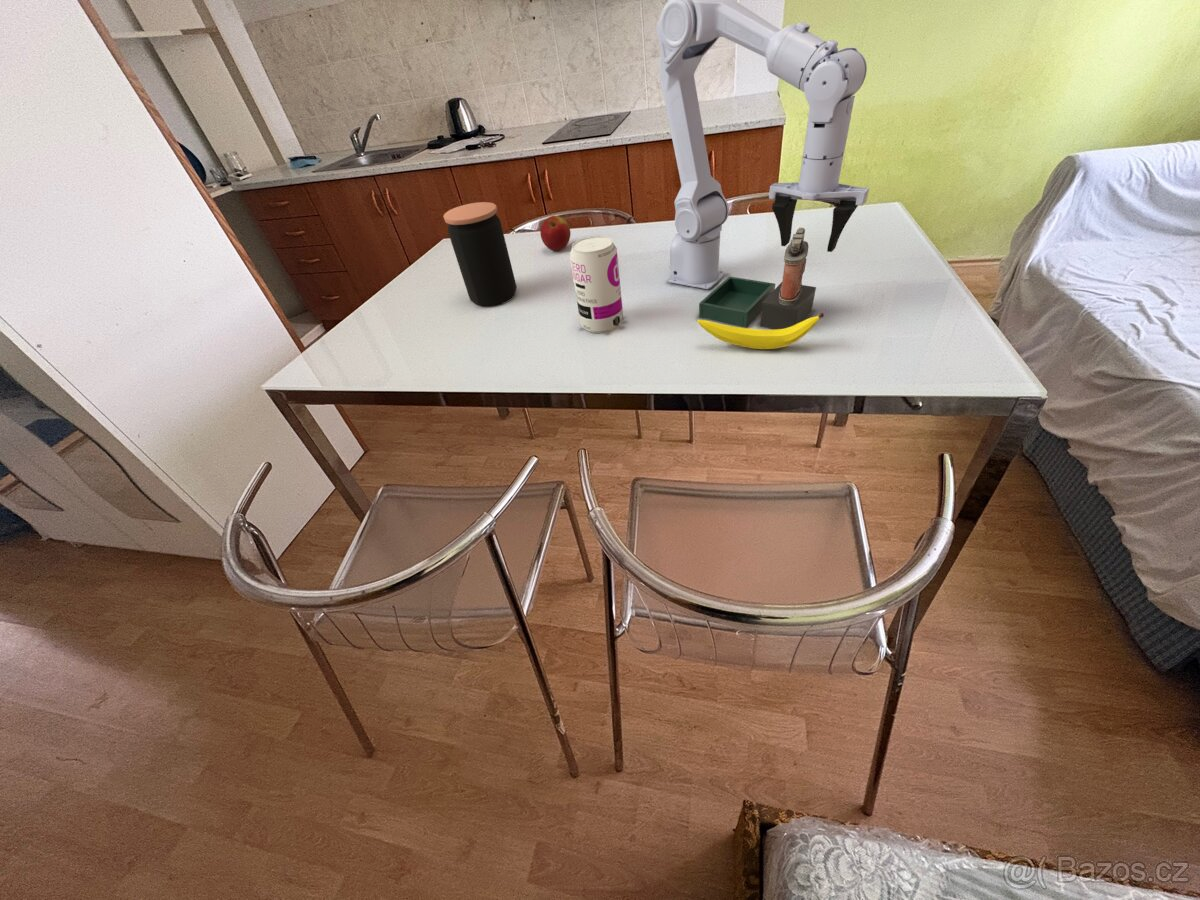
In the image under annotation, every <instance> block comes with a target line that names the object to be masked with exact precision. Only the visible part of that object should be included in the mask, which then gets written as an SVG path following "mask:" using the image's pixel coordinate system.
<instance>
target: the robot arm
mask: <svg viewBox="0 0 1200 900" xmlns="http://www.w3.org/2000/svg"><path fill="white" fill-rule="evenodd" d="M810 28H811V25H810V24H808V23H807V22H805V21H802V22H798V23H797V24H795V23H791V24H788V25H786V26H785V27H783V28H782V29H780V28H778V27H777V26H775V25H773V24H772V23H770V22H769V21H768V20H766V19H764V18H763V17H761V16H759V15H758V14H757V13H755V12H754V11H752V10H750V9H749V8H747V7H746V6H744V5H742V4H741V3H740V2H738V1H736V0H667V2H666V3H665V4H664V5H663V9H662V10H661V13H660V16H659V19H658V21H657V24H656V26H655V31H656V35H657V40H658V45H659V50H660V51H659V62H658V64H659V65H658V74H659V75H658V76H659V80H660V85H661V91H662V96H663V101H664V105H665V110H666V111H665V112H666V115H667V120H668V126H669V131H670V136H671V140H672V145H673V150H674V155H675V160H676V166H677V170H678V171H677V172H678V175H679V180H680V188H679V191H678V193H677V195H676V197H675V199H674V202H673V203H674V209H675V216H674V227H675V230H676V234H675V235H674V236H673V238H672V240H671V242H670V247H669V273H670V274H669V276H670V278H669V279H668V283H670V284H676V285H681V286H687V287H693V288H698V289H703V290H710V289H712V287H713V286H715V285H716V284H717V283H718V282H719V281H720V280H721V279H723V278H724V277H725V276H726V275H727V272H726V271H724V270H720V269H719V268H720V246H721V232H722V231H723V224H724V223H725V222H726V221H727V220H728V218H729V213H730V212H729V211H730V208H729V203H728V200H727V199H726V197H725V195H724V193H723V191H722V190H723V189H722V184H721V183H720V182H719V181H718V180H717V179H715V178H714V177H713V176H712V174H711V168H710V162H709V155H708V151H707V144H706V137H705V133H704V126H703V122H702V121H703V120H702V115H701V109H700V103H699V97H698V92H697V85H696V80H695V73H696V71H697V69H698V67H699V65H700V63H701V61H702V59H703V57H704V56H705V55H706V54H707V53H708V52H709V50H710V49H712V47H713V46H714V45H715V44H716V43H717V41H718V40H719V39H720V38H724V39H726V40H728V41H731V42H733V43H735V44H736V45H739V46H741V47H742V48H745V49H747V50H750V52H753V53H755V54H757V55H759V56H761V57H764V58H765V59H766V60H765V61H766V66H767V67H766V68H767V71H768V72H769V74H772V75H773V76H775V77H777V78H778V79H781V80H782V81H783V82H786V83H787V84H789V85H791V86H792V87H794V88H795V89H798V90H799V91H801V92H803V93H804V97H805V99H806V102H807V104H808V108H809V109H808V117H807V124H806V129H805V130H806V131H805V138H804V145H803V150H802V151H803V152H802V157H801V164H800V165H801V166H800V173H799V178H798V181H797V182H796V181H795V182H774V183H773V184H771V185H770V186H769V192H768V199H769V200H774V202H773V203H772V205H771V211H772V212H773V214H774V216H775V219H776V222H777V225H778V229H779V235H780V246H781V247H786V246H788V245H789V244H790V243H791V236H792V228H793V220H794V215H795V211H796V207H797V203H798V200H800V201H812V202H813V201H814V202H827V203H838V204H837V205H836V206H835V207H834V208H833V210H832V222H831V223H832V224H831V231H830V235H829V240H828V244H827V248H826V249H827V250H826V252H829V253H832V252H834V250H835V249H836V247H837V244H838V241H839V239H840V237H841V235H842V232H843V231H844V230H845V227H846V225H847V223H848V222H849V220H850V218H851V217H852V215H853V214H854V212H855V211H856V210H857V208H858V207H859V206H861V207H862V206H863V205H866V202H867V200H868V196H869V192H870V187H862V186H855V185H849V184H845V183H840V177H841V171H842V168H843V167H842V166H843V162H844V161H843V160H844V156H845V155H844V154H845V151H846V146H847V141H848V134H849V130H850V124H851V119H852V113H853V108H854V103H855V97H856V96H855V94H856V93H858V91H859V90H860V89H861V88H862V86H863V84H864V83H865V81H866V80H865V79H866V76H867V70H868V69H867V68H868V67H867V61H866V58H865V57H864V54H862V53H861V52H860V51H859V50H858V49H857V47H854V46H849V47H845V48H842V49H840V50H839V48H838V45H839V42H838V41H837V40H834V39H830V40H828V41H827V40H825V39H823V38H821V37H819V36H818V35H816V34H814V33H812V32H810V31H809V30H810Z"/></svg>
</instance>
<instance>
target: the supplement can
mask: <svg viewBox="0 0 1200 900" xmlns="http://www.w3.org/2000/svg"><path fill="white" fill-rule="evenodd" d="M569 260H570V261H569V262H570V269H571V274H572V280H573V285H574V286H573V287H574V292H575V297H576V303H577V304H576V305H577V310H578V317H579V323H580V326H581V327H582V328H583V329H585V330H586V331H587V332H589V333H594V334H605V333H609V332H612V331H614V330H616V329H617V328H619V327H620V325H621V324H623V322H624V309H623V299H622V289H621V278H620V267H619V256H618V248H617V247H616V245H615V243H614V242H613V239H612V238H611V237H608V236H603V235H597V236H596V235H595V236H588V237H584V238H580V239H578V240H577V241H575V242H574V243H572V245H571V250H570V254H569Z"/></svg>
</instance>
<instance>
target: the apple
mask: <svg viewBox="0 0 1200 900" xmlns="http://www.w3.org/2000/svg"><path fill="white" fill-rule="evenodd" d="M539 232H540V239H541V241H542V243H543V244H544V246H545V247H546V248H547V249H548V250H550V251H552V252H553V251H554V252H558V251H562V250H564V249H565V248H566V247H567V246H568V245H569V242H570V239H571V228H570V226H569V223H568V222H567V221H566V220H565V219H564V218H562V217H561V216H556V215H551V216H549V217H546V219H545V220H544V221H543V222H542V224H541V226H540V231H539Z"/></svg>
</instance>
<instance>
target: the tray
mask: <svg viewBox="0 0 1200 900" xmlns="http://www.w3.org/2000/svg"><path fill="white" fill-rule="evenodd" d="M775 289H776V283H774V282H767V281H761V280H755V279H750V278H749V279H748V278H742V277H736V276H731V275H730V276H728V277H727V278H725V279H724V280H723V281H722V282H721V283H720V284H719V285H718V286H717V287H715V289H713V290H712V291H711V292H710V293H709V294H708V295H706V296H705V298H703V299H702V300H701V301H700V302H699V303H698V305H699V306H698V318H699V319H703V320H708V321H712V322H717V323H723V324H726V325H731V326H736V327H742V328H748V326H749V325H750V324H751V323H752V322H754V320H755V319H756V317H757V316H758V315H760V314H761V312H762V302H763V301H764V300H765V299H766V298H767V297H768V296H769V295H770V294H771V293H772V292H773V291H774V290H775Z"/></svg>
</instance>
